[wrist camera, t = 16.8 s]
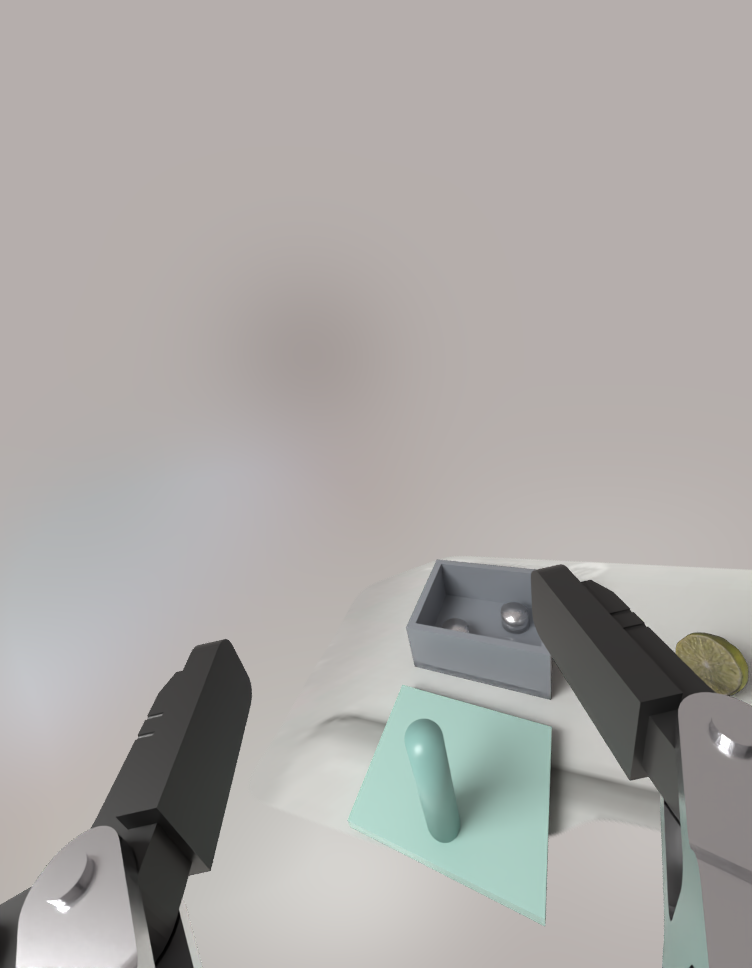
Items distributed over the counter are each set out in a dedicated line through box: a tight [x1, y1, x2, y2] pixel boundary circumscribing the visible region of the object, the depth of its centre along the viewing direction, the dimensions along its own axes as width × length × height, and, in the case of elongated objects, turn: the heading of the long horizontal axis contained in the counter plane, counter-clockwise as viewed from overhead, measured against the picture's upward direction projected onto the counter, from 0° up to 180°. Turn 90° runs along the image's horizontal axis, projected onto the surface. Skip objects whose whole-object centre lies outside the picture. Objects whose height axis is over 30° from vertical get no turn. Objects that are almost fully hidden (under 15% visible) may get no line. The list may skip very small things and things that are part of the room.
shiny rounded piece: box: [501, 602, 529, 634], centre depth 43 cm, size 3×3×2 cm
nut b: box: [442, 618, 469, 633], centre depth 42 cm, size 3×3×2 cm
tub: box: [406, 560, 552, 700], centre depth 42 cm, size 14×12×6 cm
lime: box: [676, 633, 748, 696], centre depth 33 cm, size 4×5×5 cm
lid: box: [348, 685, 552, 926], centre depth 28 cm, size 14×12×12 cm
